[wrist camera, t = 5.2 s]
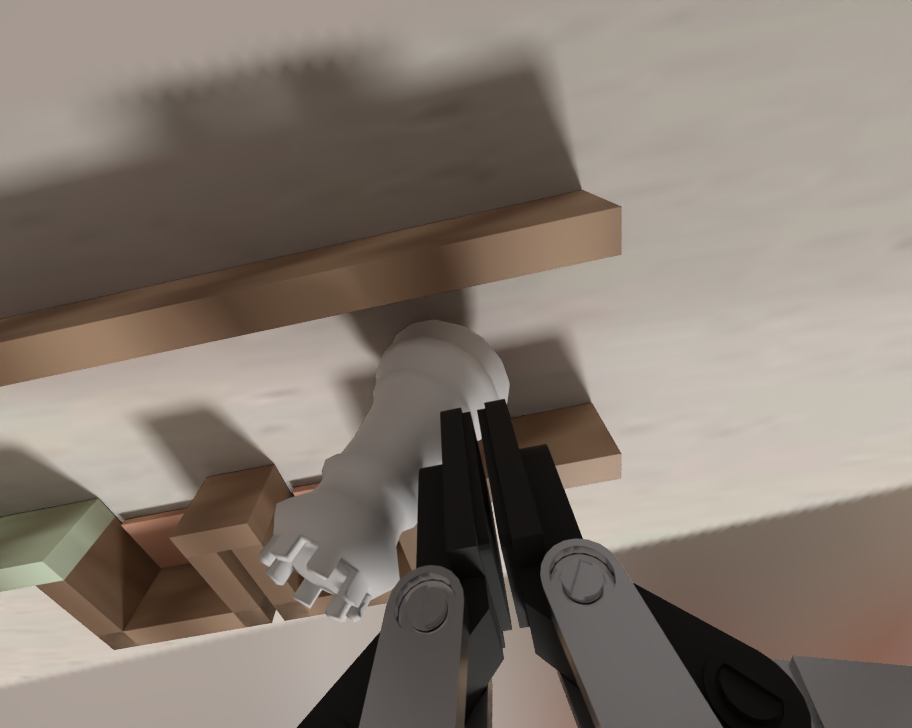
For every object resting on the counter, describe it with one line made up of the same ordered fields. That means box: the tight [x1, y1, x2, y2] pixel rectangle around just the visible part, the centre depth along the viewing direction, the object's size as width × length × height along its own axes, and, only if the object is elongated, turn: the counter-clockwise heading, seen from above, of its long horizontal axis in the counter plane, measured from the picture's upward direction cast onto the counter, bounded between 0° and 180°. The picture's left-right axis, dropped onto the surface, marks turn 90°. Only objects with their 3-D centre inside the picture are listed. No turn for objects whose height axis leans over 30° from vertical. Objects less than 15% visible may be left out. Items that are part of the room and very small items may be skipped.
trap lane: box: [0, 190, 621, 650], centre depth 16 cm, size 29×14×3 cm, turn 101°
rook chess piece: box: [258, 320, 510, 623], centre depth 12 cm, size 4×4×8 cm
